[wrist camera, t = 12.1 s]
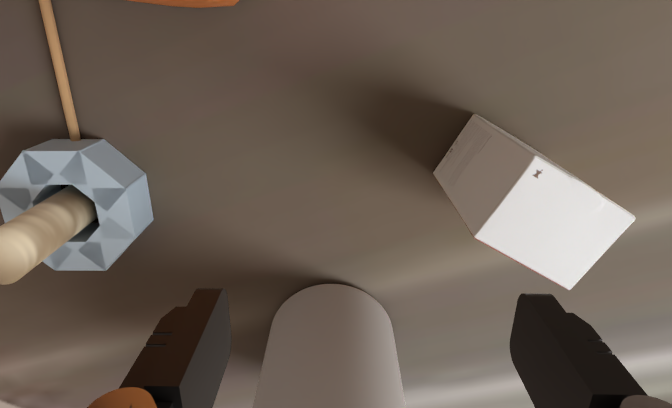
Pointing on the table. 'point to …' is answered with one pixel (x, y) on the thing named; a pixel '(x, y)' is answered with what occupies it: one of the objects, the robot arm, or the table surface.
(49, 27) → the wooden stick
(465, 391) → the table surface
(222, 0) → the bread
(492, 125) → the small box
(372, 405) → the cylinder vase
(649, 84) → the table surface
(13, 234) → the dowel
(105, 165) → the bead
